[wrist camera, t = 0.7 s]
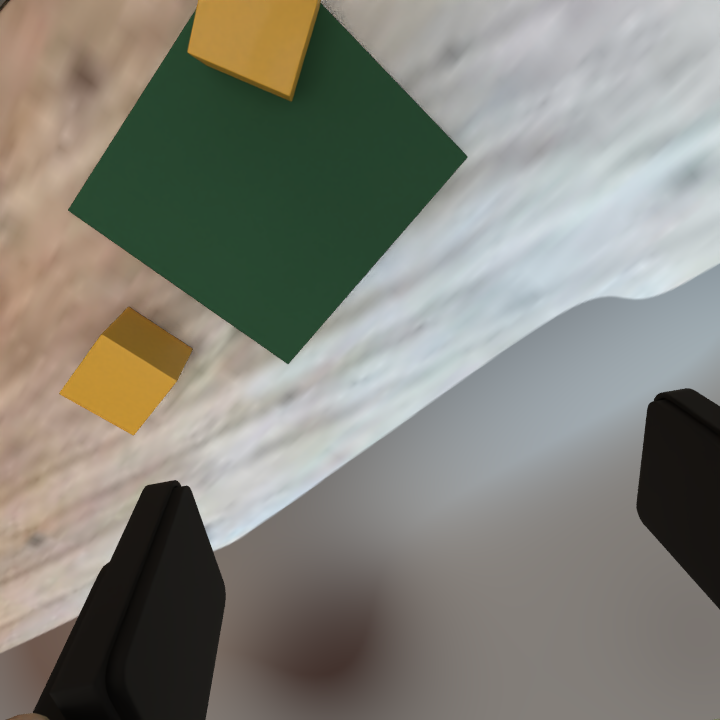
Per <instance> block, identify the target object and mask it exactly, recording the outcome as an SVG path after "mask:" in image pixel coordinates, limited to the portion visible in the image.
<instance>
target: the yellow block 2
mask: <svg viewBox="0 0 720 720" xmlns="http://www.w3.org/2000/svg"><path fill="white" fill-rule="evenodd" d="M320 1H321V0H198V4H197V9H196V13H195V18H194V23H193V27H192V32H191V37H190V41H189V46H188V51H187V53H189V54H190V55H191V56H193V57H194V58H196V59H197V60H199V61H200V62H202V63H203V64H205V65H206V66H209V67H211V68H213V69H216V70H218V71H220V72H223V73H225V74H227V75H230V76H232V77H234V78H237V79H239V80H242V81H244V82H246V83H249V84H251V85H253V86H256V87H258V88H260V89H263V90H265V91H267V92H270V93H272V94H274V95H277V96H279V97H281V98H284V99H286V100H288V101H292V99H293V96H294V93H295V89H296V86H297V82H298V79H299V76H300V72H301V69H302V65H303V62H304V59H305V55H306V52H307V48H308V45H309V42H310V38H311V35H312V31H313V28H314V24H315V21H316V18H317V14H318V11H319V7H320Z"/></svg>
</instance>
